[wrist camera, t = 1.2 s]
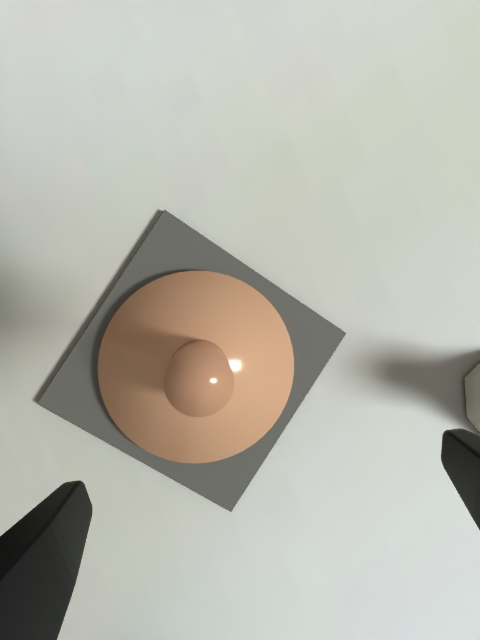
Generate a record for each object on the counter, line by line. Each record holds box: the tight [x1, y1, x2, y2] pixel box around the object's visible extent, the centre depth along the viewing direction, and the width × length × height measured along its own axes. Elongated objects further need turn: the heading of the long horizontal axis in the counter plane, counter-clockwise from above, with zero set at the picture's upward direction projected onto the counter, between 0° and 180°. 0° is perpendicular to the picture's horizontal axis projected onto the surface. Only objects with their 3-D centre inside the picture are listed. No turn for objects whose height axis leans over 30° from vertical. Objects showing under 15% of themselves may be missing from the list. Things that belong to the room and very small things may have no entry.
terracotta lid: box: [98, 271, 294, 464], centre depth 20 cm, size 12×12×4 cm
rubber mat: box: [37, 210, 346, 512], centre depth 22 cm, size 14×14×1 cm
